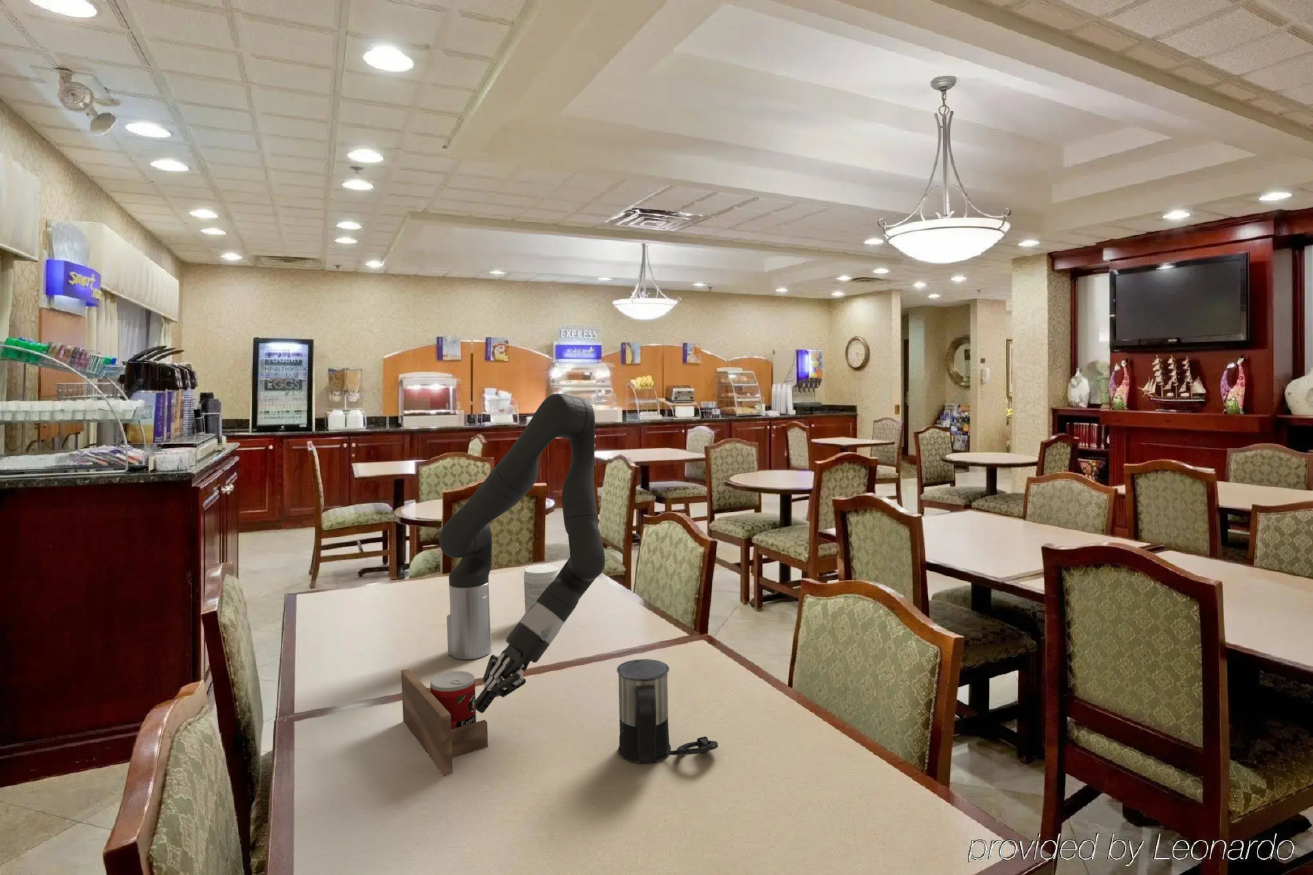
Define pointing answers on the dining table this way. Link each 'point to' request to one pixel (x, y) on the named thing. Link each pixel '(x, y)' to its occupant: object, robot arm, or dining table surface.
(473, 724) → the walnut stop
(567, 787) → the dining table surface
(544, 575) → the supplement tub
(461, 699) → the canned food
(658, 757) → the milk frother
